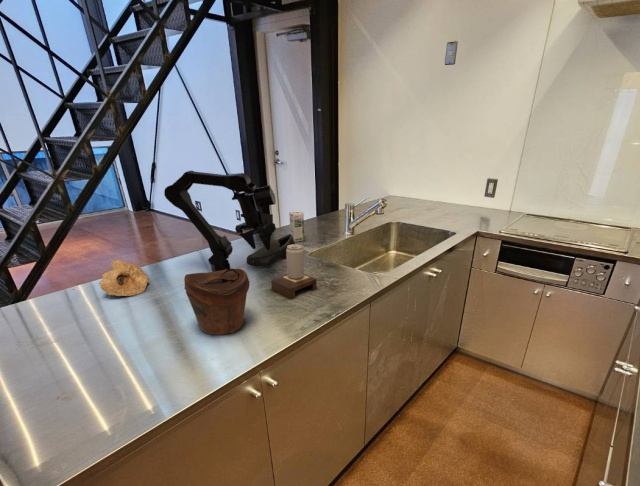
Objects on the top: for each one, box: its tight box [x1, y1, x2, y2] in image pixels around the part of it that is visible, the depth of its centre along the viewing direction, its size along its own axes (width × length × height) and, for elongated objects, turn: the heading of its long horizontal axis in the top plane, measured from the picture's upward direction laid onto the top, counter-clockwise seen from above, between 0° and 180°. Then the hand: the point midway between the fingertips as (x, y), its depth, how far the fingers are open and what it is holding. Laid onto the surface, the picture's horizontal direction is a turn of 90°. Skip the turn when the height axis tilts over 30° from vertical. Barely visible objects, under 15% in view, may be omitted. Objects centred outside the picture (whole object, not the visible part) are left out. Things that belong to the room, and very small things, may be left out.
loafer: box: [246, 233, 296, 268], centre depth 168 cm, size 10×29×10 cm, turn 152°
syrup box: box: [288, 210, 305, 243], centre depth 196 cm, size 6×6×14 cm
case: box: [183, 268, 250, 336], centre depth 114 cm, size 18×20×18 cm
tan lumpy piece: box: [98, 258, 150, 297], centre depth 139 cm, size 18×14×8 cm
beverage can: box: [285, 243, 305, 279], centre depth 140 cm, size 6×6×12 cm
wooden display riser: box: [270, 273, 317, 300], centre depth 142 cm, size 13×11×4 cm
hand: (261, 249), depth 147 cm, fingers open, 9 cm apart
